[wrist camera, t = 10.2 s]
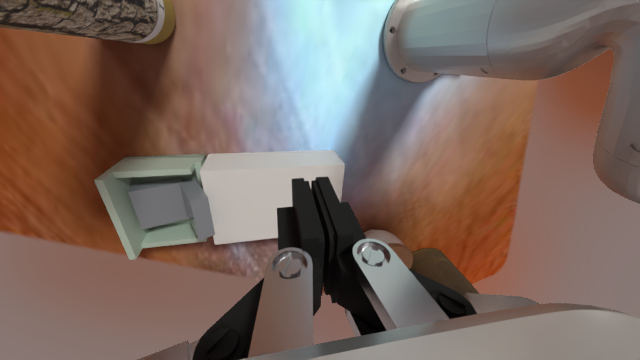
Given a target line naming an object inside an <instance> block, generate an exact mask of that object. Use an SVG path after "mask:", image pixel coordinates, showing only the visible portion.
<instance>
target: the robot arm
mask: <svg viewBox="0 0 640 360" xmlns="http://www.w3.org/2000/svg"><path fill="white" fill-rule="evenodd" d="M390 29H391V32H390ZM383 45H384V53H385V56H386V60H387V62H388V64H389V66H390V68H391V69H392V71H393V72H394V73H395V74H396V75H397V76H398V77H400V78H401V79H403V80H406V81H409V82H417V83H422V82H427V81H430V80H432V79H435V78H436V77H438V76H439V75H441V74H442V73H444V74H455V75H466V76H478V77H489V78H501V79H512V80H513V79H515V80H541V79H547V78H551V77H555V76H558V75H560V74H563V73H566V72H568V71H571V70H573V69H574V68H577V67H579V66H581V65H582V64H584V63H586V62H588V61H590V60H591V59H593V58H595V57H596V56H598V55H600V54H602V53H603V52H604V51H606V50H608V49H610V48H611V49H612V50H613V53H614V63H613V69H612V73H611V78H610V80H611V83H610V86H609V90H608V94H607V98H606V102H605V105H604V109H603V113H602V116H601V121H600V124H599V128H598V132H597V137H596V141H595V146H594V153H593V164H594V169H595V172H596V173H597V176H598V177H599V179H600V180H601V181H602V182H603V183H604V184H605V185H606V186H607V187H608V188H609V189H611V190H612V191H614V192H615V193H617V194H619V195H621V196H623V197H625V198H627V199H629V200H632V201H634V202H637V203H639V204H640V0H395V2H394V3H393V5H392V7H391V9H390V11H389V14H388V17H387V20H386V23H385V28H384V37H383ZM277 225H278V250H279V251H277V252H276V253H274V254H273V255H272V256H271V257H270V259H269V261H268V263H267V267H266V272H265V277H264V278H263V279H262V280H261V281H260V282H259V283H258V284H257V285H256V286H255V287H253V288H252V289H251V290H250V291H249V292H248V293H247V294H246V295H245V296H244V297H243V298H242V299H241V300H240V301H238V302H237V303H236V304H235V305H234V306H233V307H232V308H231V309H230V310H229V311H228V312H227V313H226V314H224V316H223V317H221V318H220V319H219V320H218V321H217V322H216V323H215V324H214V325H213V326H212V327H210V328H209V329H208V330H207V332H206V333H205V334H204V335H203V336H202V337H201V338H200V340H197V341H195V342H192V343H190V344H189V342H188V341H185V342H182V343H179V344H177V345H175V346H172V347H169V348H167V349H164V350H161V351H159V352H157V353H154V354H151V355H149V356H146V357H144V358H141V359H138V360H640V318H639V317H637V316H633V315H631V314H627V313H624V312H620V311H616V310H611V309H606V308H602V307H596V306H591V305H579V304H568V303H563V304H562V303H555V304H554V303H549V304H539V303H537V302H535V301H533V300H530V299H528V298H524V297H518V296H503V295H488V294H475V293H465V295H464V296H463V295H461V294H460V293H458V292H457V291H455V290H453V289H451V288H449V287H447V286H445V285H443V284H440V283H438V282H436V281H434V280H432V279H430V278H428V277H426V276H423V275H421V274H419V273H417V272H415V271H413V270H411V269H409V268H407V267H406V265H405V264H404V263H403V262H402V261H401V259H400V258H399V257H398V256H397V255H396V253H395V252H394V251H393V250H392V249H391V248H390V247H389V246H388V245H387V244H385V243H384V242H382V241H379V240H376V239H367V238H366V236H365V234H364V232H363V231H362V229H361V227H360V225H359V223H358V221H357V219H356V217H355V215H354V213H353V211H352V209H351V207H350V205H349V204H348V203H347V202H342V203H340V201H339V199H338V197H337V195H336V193H335V191H334V188H333V186H332V184H331V182H330V180H329V178H328V177H316V179H315V180H312V182H311V188H310V184H309V181H304V178H295V179H292V207H282V208H277ZM323 286H324V291H325V294H326V295H330V296H331V300H332V303H338V304H339V305H340V306H342V307H344V308H345V313H346V317H347V319H348V321H349V323H350V325H351V328H352V330H353V332H354V334H355V337H352V338H348V339H342V340H337V341H332V342H327V343H321V344H316V345H313V316H314V315H315V313H316V312H317V310H318V309H319V308H320V305H321V295H322V287H323Z"/></svg>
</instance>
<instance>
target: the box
mask: <svg viewBox="0 0 640 360" xmlns="http://www.w3.org/2000/svg"><path fill="white" fill-rule="evenodd" d="M205 160H206V156H205V154H194V155H164V156H134V157H125V158H123V159H122V160H121V161H119V162H118V163H116V164H115V165H114V166H112V167H111V168H110V169H108V170H107V171H106V172H104V173H103V174H102V175H100V176H99V177H98V178H96V179H95V180H94V182H95V184H96V186H97V188H98V191H99V193H100V195H101V197H102V199H103V202H104V204H105V206H106V208H107V211H108V213H109V215H110V217H111V219H112V222H113V224H114V226H115V228H116V231H117V233H118V235H119V237H120V239H121V242H122V244H123V246H124V248H125V251H126V253H127V255H128V257H129V259H137V257H138V256H139V254H140V252H141V251H142V249H143V248H150V247H159V246H168V245H177V244H187V243H196V242H205V241H207V239H208V238H205V239H202V240H200V241H199V238H198V236H197V234H196V232H195V230H194V228H193V226H192V224H191V222H190V220H189V219H185V220H181V221H176V222H172V223H168V224H164V225H160V226H156V227H151V228H147V229H143V230H142V228H141V225H140V223H139V220H138V217H137V215H136V212H135V210H134V207H133V204H132V202H131V199H130V196H129V194H128V190H129V186H130V185H134V184H140V183H146V182H153V181H159V180H165V179H171V178H177V177H182V181H187V180H192V179H196V181H197V182H198V183H199V185H200V186H201V188H202V189H203V185H202V181H201V176H200V170H201V168H202V166H203V164H204V162H205ZM203 191H204V190H203Z"/></svg>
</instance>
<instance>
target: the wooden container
mask: <svg viewBox="0 0 640 360" xmlns="http://www.w3.org/2000/svg"><path fill="white" fill-rule="evenodd" d="M412 255H413V263H412V266H411V268H410V269H411V270H413V271H415V272H417V273H419V274H421V275H423V276H426V277H428V278H430V279H432V280H434V281H436V282H438V283H440V284H443V285H445V286H447V287H449V288H451V289H453V290H455V291H457V292H458V293H460V294H461V295H463V296H464V295H465V293H475V294H479V293H478V292H477V290H476V289H475V288H474V287H473V286H472V284H471V283H470V282H469V281H468V280H467V279H466V278H465V277H464V275H463V274H462V273H461V272H460V271H459V270H458V269H457V268H456V267H455V266H454V265H453V264H452V263H451V261H450V260H449V259H448V258H447V257H446V256H445V255H444V254H443V253H442V252H441V251H440V250H438V249H434V248H426V249H421V250H418V251H415V252H413V253H412Z"/></svg>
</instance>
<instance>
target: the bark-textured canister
mask: <svg viewBox="0 0 640 360" xmlns="http://www.w3.org/2000/svg"><path fill="white" fill-rule="evenodd" d="M0 27H2V28H10V29H19V30H28V31H36V32H45V33H54V34H62V35H71V36H79V37H88V38H97V39H105V40H114V41H123V42H131V43H142V44H157V43H160V42H162V41H164V40H166V39H167V38H168V37H169V36H170V35H171V33H172V32H173V30H174V27H175V10H174V6H173V3H172V1H171V0H0Z"/></svg>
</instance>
